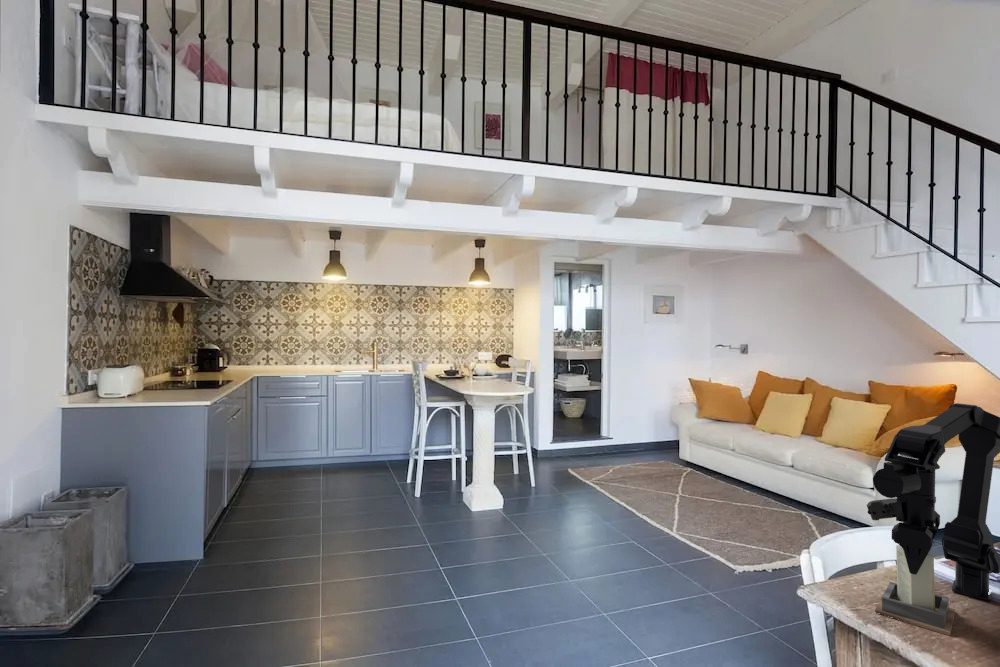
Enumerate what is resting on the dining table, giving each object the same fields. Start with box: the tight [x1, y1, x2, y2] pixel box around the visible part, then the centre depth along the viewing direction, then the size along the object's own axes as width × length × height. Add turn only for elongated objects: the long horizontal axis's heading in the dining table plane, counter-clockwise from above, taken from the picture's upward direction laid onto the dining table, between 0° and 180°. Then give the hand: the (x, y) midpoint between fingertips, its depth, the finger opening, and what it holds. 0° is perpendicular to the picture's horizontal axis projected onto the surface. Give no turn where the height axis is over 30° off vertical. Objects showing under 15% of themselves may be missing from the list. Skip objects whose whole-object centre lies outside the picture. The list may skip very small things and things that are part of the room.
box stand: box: [874, 581, 956, 637], centre depth 113 cm, size 12×12×3 cm
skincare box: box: [895, 544, 936, 611], centre depth 113 cm, size 6×4×12 cm
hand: (916, 566), depth 113 cm, fingers open, 9 cm apart
